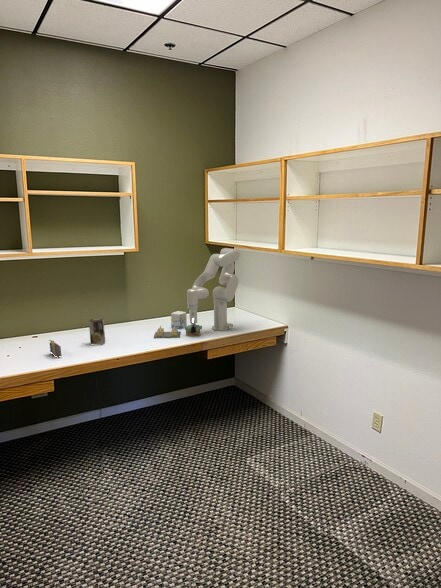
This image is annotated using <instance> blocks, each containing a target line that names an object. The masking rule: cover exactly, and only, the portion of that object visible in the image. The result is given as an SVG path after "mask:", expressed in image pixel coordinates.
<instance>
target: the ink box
mask: <svg viewBox="0 0 441 588" xmlns="http://www.w3.org/2000/svg"><path fill="white" fill-rule="evenodd" d="M187 320H188V319H187V312H186V311H181V310H178V311H177V310H176V311H173V312H171V313H170V325H171V327H170V328H171V329H172V328H174V325H175V328H178V330H181V329H182V330H183V329H185V326H188V323H187V322H188V321H187Z"/></svg>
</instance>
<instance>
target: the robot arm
mask: <svg viewBox="0 0 441 588" xmlns="http://www.w3.org/2000/svg"><path fill="white" fill-rule="evenodd" d="M219 252H220V253H213V254H212V255H210V257H209V260H208V262H207V265H206V266H205V268H204V271H203V272H202V273H201V274H200V275H199V276H198V277H197V278H196V279H195V281H193V282H194V283H193V284H192V286H191V288H189V289H187V290H186V301H187V303H186V305H187V306H186V307H187V310H188V311H189V313H188V314H189V323H190V325H191V333H196V327H195V325H197V324H198V309H199V299H200V300H201V299H202V300H204V299H207V298H208V297H209V295H210V291H209V290H208V288H205V287H203V286H204V284H206V282H208V281H210V280H212V279H214V278H215V277H216V275H217V273H218V271H219V268H220V267H222V269H221V272H220V276H219V278H218V283H219V284H220V285H222V286H216V287H214V288H213V289H212V299H213V326H211V329H212V330H213V331H216V332H217V331H218V332H219V331H220V332H221V331H228V330H229V329H230V327H234V323H230V322H228V306H227V305H228V304H227V303H229V302H232V301H233V299H234V297H235V296H236V292H237V289H238V286H239V283H240V281H239V276H238V275H237V274H234V271H235V262H237V261H238V260H239V259H240V257H241V252H240V251H239V250H238V249H236V248H228V247H224V248H222V249H221V250H220V251H219Z"/></svg>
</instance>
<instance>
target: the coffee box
mask: <svg viewBox="0 0 441 588" xmlns="http://www.w3.org/2000/svg"><path fill="white" fill-rule="evenodd" d="M88 326H89V339H90V345H91V344H100V345H105V344H106V332H105V320H104V318H93V319H90V318H89V321H88Z"/></svg>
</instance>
